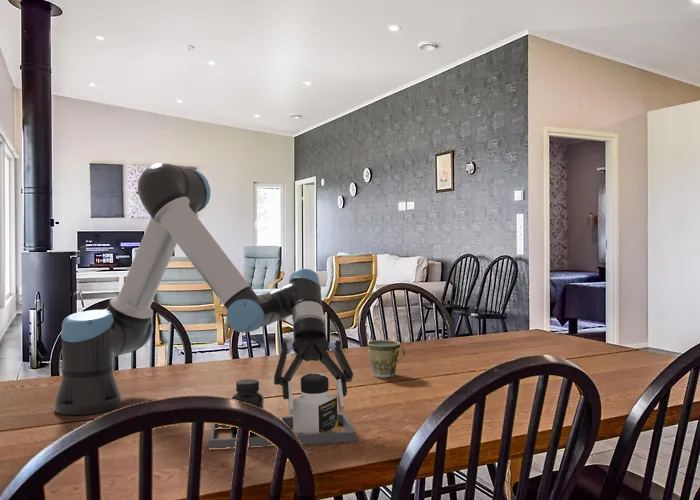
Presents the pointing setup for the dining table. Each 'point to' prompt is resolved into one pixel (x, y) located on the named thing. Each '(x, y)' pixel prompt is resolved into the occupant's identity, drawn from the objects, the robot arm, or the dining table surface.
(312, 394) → the medicine bottle
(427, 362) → the dining table surface
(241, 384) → the supplement bottle
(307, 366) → the dining table surface
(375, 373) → the ceramic cup
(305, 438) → the tray
